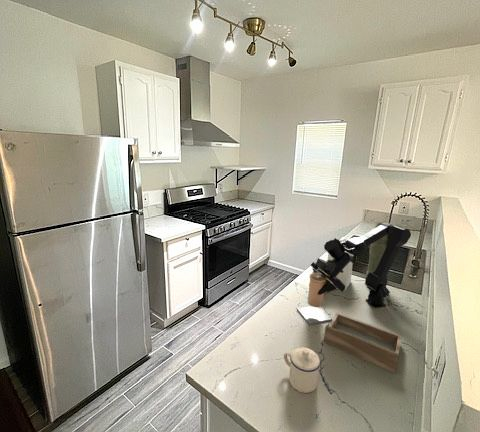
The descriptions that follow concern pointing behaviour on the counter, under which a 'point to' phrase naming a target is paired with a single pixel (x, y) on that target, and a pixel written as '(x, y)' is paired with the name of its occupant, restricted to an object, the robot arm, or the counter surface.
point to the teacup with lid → (303, 369)
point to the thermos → (376, 252)
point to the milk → (347, 273)
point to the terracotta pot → (316, 289)
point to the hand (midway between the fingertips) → (313, 290)
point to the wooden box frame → (363, 342)
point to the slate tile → (314, 314)
